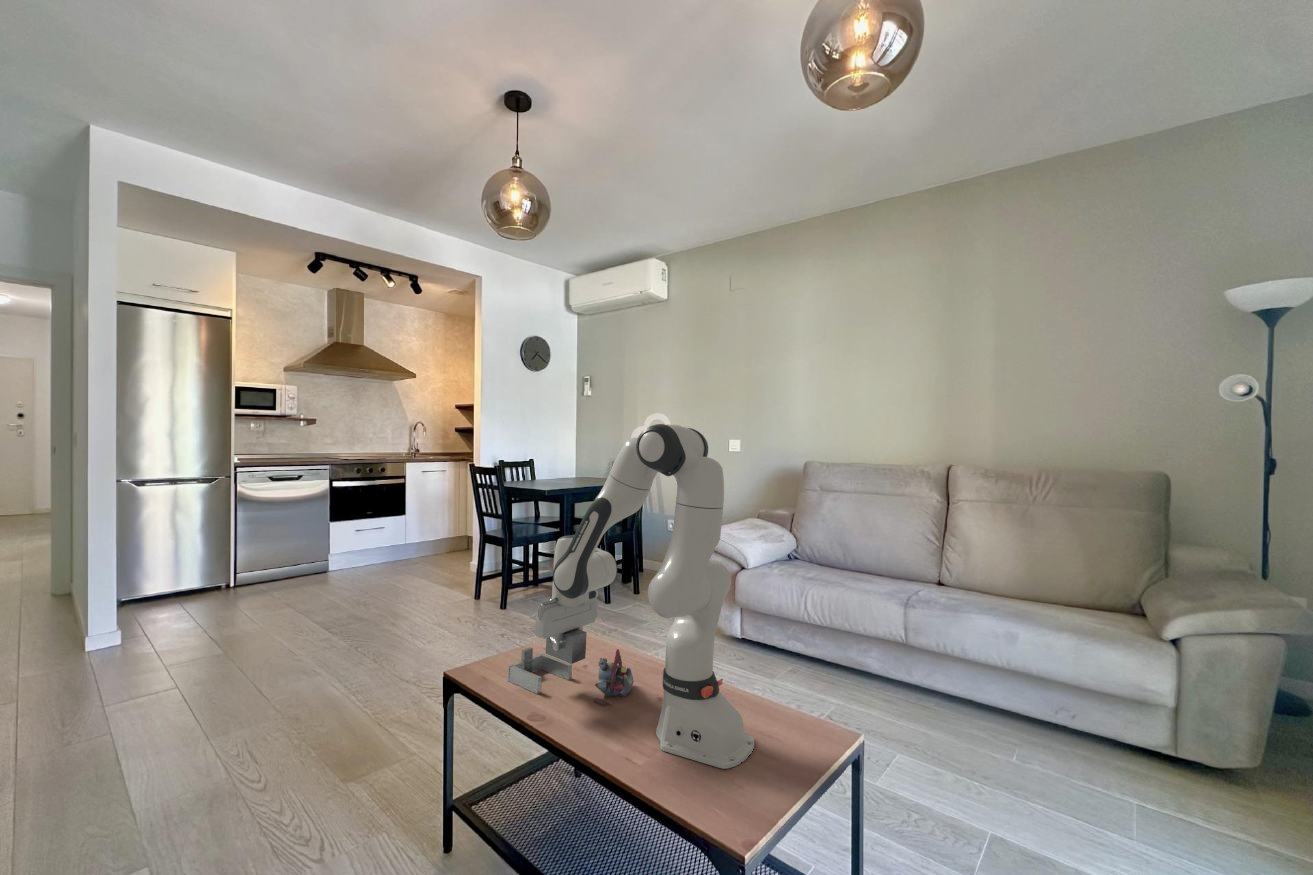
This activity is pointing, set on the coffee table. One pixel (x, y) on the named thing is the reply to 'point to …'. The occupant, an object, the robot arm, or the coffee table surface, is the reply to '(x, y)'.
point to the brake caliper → (614, 677)
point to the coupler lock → (569, 646)
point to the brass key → (623, 669)
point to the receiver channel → (524, 670)
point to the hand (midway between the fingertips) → (565, 646)
